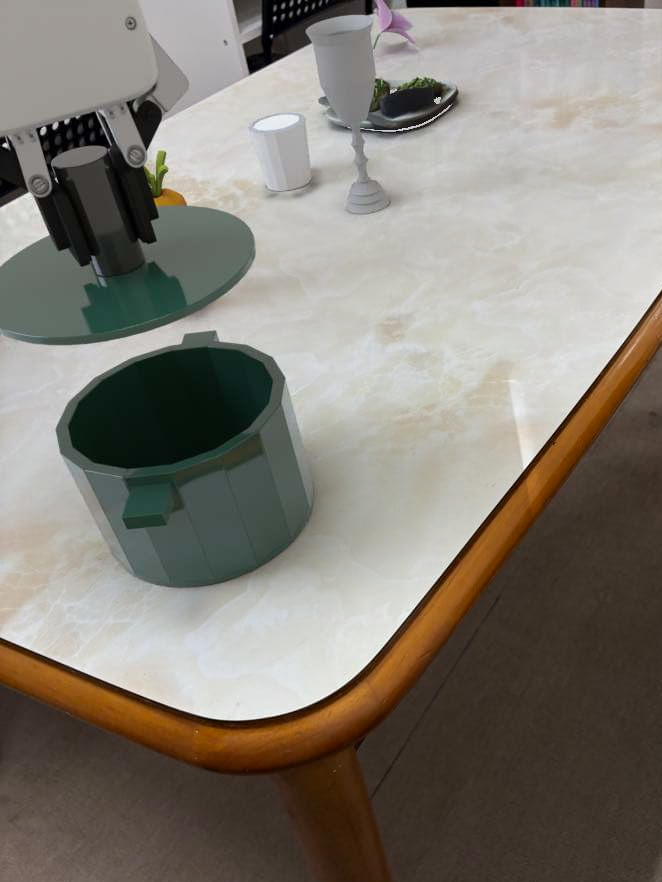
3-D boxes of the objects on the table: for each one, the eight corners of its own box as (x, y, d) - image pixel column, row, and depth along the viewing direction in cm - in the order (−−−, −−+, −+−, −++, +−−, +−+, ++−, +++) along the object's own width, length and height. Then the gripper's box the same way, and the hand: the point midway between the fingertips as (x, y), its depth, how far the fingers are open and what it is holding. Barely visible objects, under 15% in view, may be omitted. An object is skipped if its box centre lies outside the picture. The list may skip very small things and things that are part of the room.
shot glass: (276, 170, 109) (263, 111, 104) (325, 170, 106) (314, 110, 102) (252, 192, 104) (237, 132, 99) (302, 193, 102) (289, 132, 97)
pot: (77, 628, 54) (11, 518, 48) (143, 438, 69) (100, 334, 62) (302, 607, 53) (266, 492, 47) (321, 418, 68) (296, 311, 61)
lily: (413, 69, 136) (431, 1, 132) (341, 45, 134) (358, -25, 130) (413, 74, 147) (430, 11, 143) (347, 51, 145) (362, -13, 141)
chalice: (351, 190, 101) (322, 16, 88) (405, 191, 99) (383, 12, 86) (328, 217, 96) (294, 38, 83) (385, 218, 94) (358, 34, 81)
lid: (-54, 370, 44) (-129, 239, 40) (37, 237, 56) (-13, 122, 51) (240, 338, 43) (200, 200, 38) (272, 209, 54) (245, 89, 50)
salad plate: (289, 132, 118) (281, 97, 115) (357, 89, 129) (352, 55, 126) (409, 141, 110) (405, 103, 107) (472, 94, 120) (469, 58, 117)
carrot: (211, 291, 86) (164, 137, 76) (221, 312, 83) (173, 153, 72) (163, 305, 85) (109, 151, 75) (171, 327, 82) (115, 168, 72)
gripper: (120, -209, 40) (222, 183, 53) (-259, -143, 35) (-46, 271, 48) (172, -212, 35) (271, 221, 48) (-260, -136, 30) (-23, 323, 43)
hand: (111, 243), depth 48 cm, fingers closed on lid, 3 cm apart
